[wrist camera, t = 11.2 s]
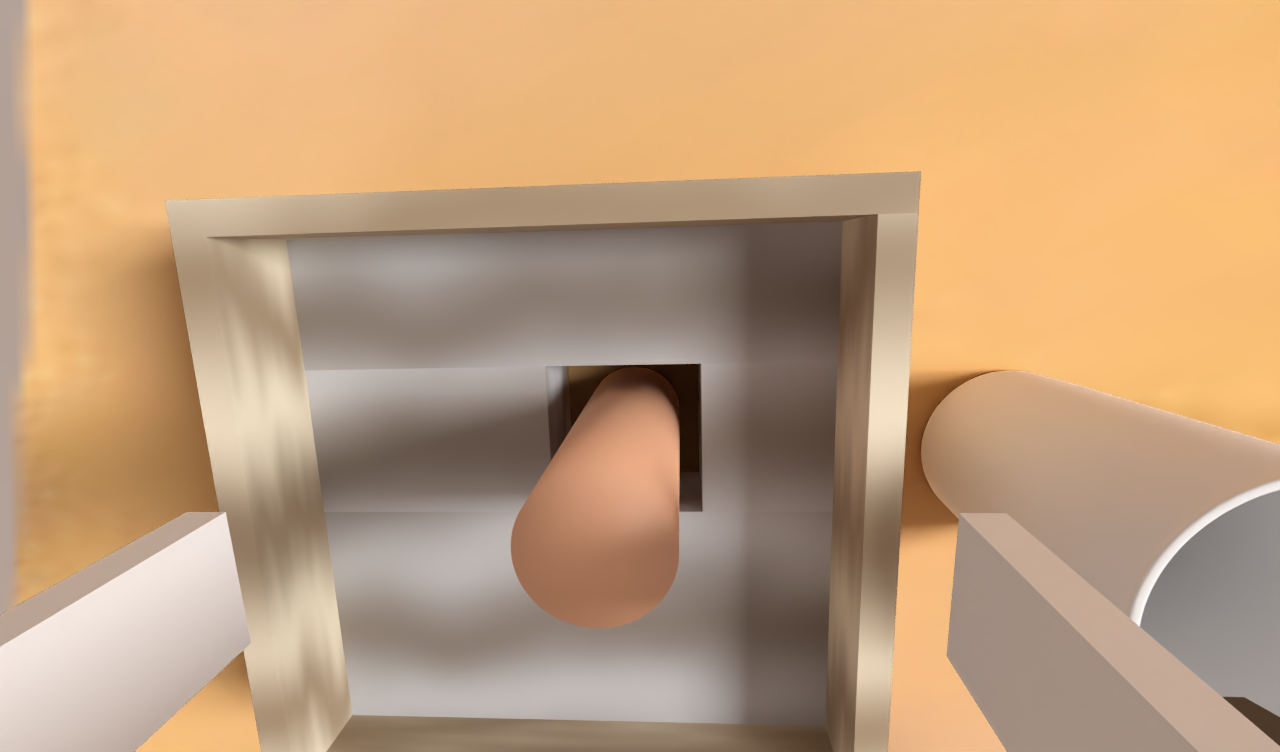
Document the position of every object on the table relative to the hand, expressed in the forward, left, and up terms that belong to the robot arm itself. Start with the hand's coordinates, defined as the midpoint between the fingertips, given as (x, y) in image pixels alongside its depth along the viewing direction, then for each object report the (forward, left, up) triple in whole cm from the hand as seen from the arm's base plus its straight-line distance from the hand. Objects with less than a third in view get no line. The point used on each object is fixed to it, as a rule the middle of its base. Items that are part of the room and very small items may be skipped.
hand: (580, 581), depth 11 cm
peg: (0, 0, -14) cm, 14 cm away
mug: (+2, +16, -14) cm, 21 cm away
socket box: (+2, -2, -14) cm, 14 cm away
